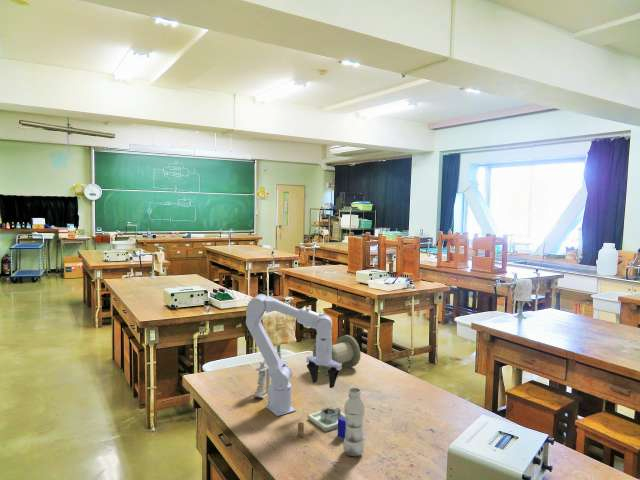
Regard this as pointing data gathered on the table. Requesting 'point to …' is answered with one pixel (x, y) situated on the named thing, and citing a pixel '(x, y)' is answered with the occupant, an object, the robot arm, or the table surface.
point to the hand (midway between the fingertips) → (323, 384)
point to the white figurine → (262, 380)
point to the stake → (300, 429)
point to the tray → (326, 427)
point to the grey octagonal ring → (330, 415)
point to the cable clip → (341, 427)
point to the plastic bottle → (354, 423)
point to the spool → (343, 353)
